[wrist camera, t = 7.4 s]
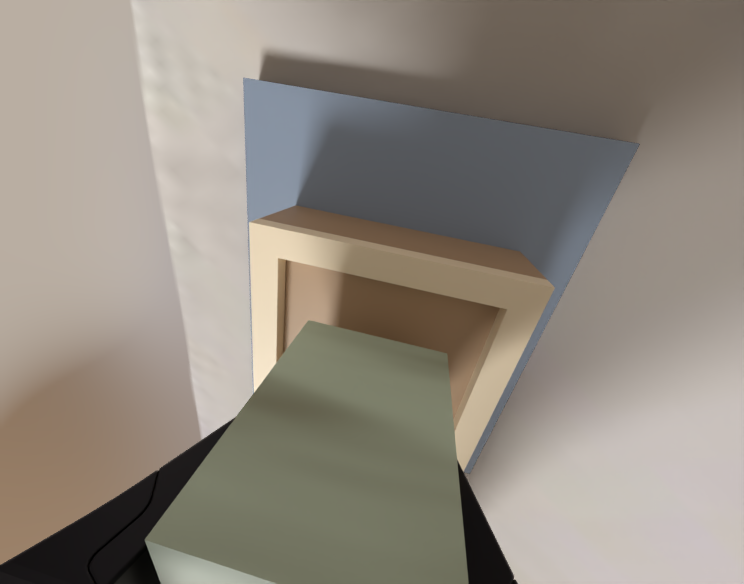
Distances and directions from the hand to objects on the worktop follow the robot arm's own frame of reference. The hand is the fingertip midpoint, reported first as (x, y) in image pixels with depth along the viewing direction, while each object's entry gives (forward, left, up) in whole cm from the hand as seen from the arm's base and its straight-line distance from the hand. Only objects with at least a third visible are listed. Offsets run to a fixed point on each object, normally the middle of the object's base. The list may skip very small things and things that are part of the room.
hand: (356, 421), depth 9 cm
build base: (0, 0, -7) cm, 7 cm away
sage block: (0, 0, -1) cm, 1 cm away
